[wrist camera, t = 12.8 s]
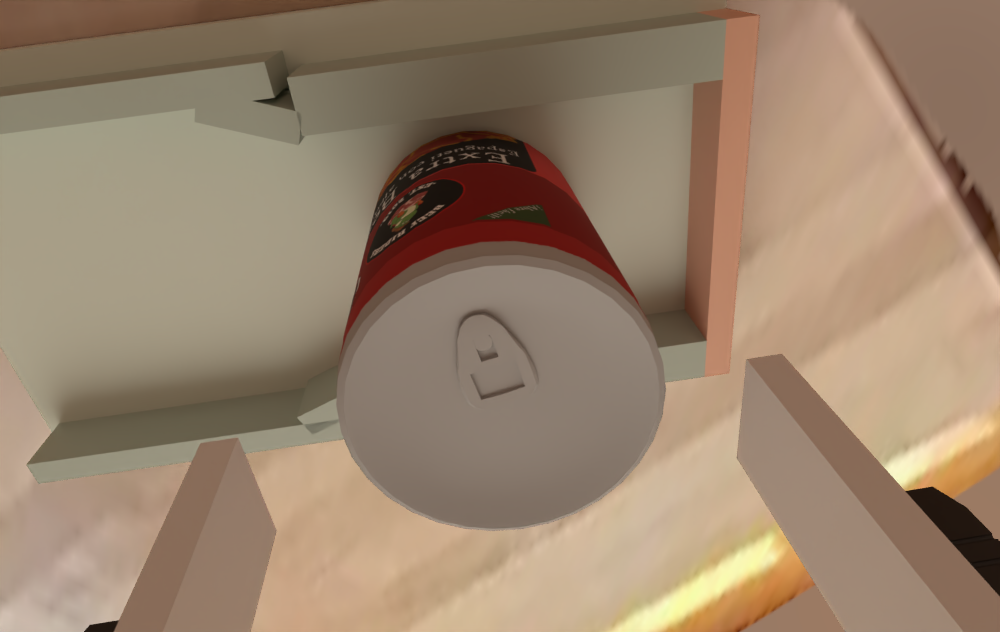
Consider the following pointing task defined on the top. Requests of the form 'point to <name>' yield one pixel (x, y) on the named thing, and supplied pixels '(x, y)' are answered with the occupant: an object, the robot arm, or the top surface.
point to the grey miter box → (332, 197)
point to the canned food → (493, 343)
